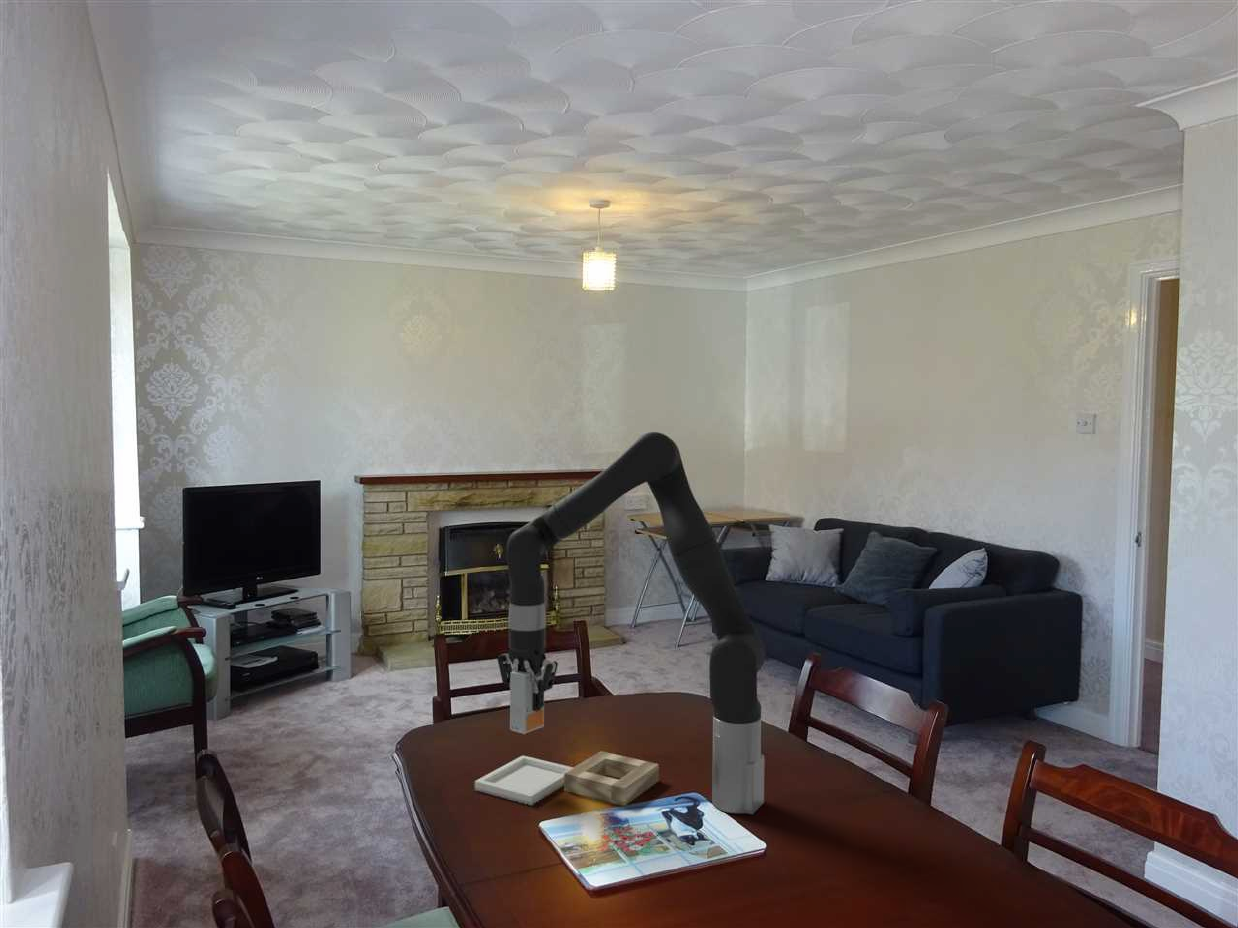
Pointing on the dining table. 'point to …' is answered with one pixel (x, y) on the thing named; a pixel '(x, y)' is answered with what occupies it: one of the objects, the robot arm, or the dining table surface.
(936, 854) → the dining table surface
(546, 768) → the grey tray
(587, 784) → the frame
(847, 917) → the dining table surface
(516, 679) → the skincare box
